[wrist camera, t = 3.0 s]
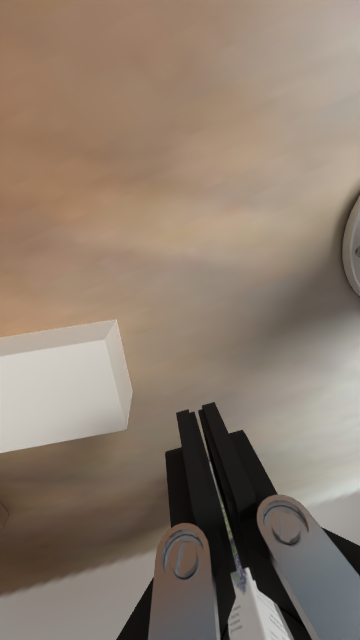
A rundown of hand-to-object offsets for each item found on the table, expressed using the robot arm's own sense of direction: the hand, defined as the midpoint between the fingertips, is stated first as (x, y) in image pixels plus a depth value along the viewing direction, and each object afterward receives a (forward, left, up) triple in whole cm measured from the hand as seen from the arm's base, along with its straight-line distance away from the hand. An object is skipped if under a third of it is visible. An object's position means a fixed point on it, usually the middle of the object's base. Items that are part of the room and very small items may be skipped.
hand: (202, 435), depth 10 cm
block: (+10, 0, -11) cm, 15 cm away
